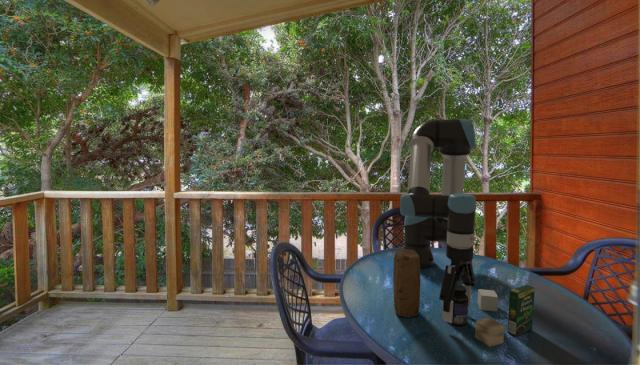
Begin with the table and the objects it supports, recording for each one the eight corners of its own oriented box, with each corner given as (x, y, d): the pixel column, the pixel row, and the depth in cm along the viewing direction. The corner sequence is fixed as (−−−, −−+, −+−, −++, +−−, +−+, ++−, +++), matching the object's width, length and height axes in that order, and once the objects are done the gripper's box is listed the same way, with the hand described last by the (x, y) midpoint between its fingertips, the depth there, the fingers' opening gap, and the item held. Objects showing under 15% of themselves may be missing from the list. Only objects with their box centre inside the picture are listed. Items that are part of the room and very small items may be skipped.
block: (420, 319, 106) (422, 257, 104) (396, 318, 107) (397, 256, 105) (413, 303, 117) (414, 246, 115) (391, 302, 118) (392, 246, 115)
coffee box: (515, 337, 96) (518, 293, 95) (506, 332, 99) (509, 289, 97) (533, 330, 100) (536, 287, 99) (523, 325, 103) (526, 283, 101)
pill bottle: (470, 321, 105) (471, 286, 104) (463, 329, 101) (464, 293, 100) (450, 314, 110) (451, 281, 108) (442, 321, 105) (444, 287, 104)
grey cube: (477, 303, 117) (478, 289, 117) (493, 304, 116) (494, 290, 116) (480, 309, 113) (481, 295, 112) (497, 311, 111) (498, 297, 111)
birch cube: (475, 337, 97) (475, 320, 96) (488, 333, 99) (489, 317, 98) (489, 347, 92) (490, 329, 92) (503, 343, 94) (504, 326, 93)
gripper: (454, 258, 91) (451, 333, 93) (487, 239, 109) (484, 303, 111) (428, 252, 96) (425, 323, 99) (463, 235, 114) (461, 295, 116)
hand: (456, 313), depth 105 cm, fingers open, 13 cm apart
